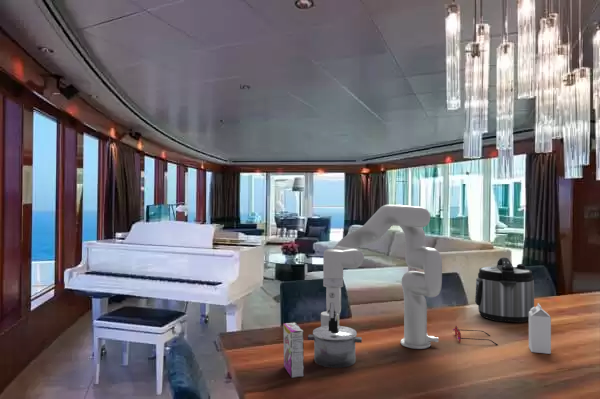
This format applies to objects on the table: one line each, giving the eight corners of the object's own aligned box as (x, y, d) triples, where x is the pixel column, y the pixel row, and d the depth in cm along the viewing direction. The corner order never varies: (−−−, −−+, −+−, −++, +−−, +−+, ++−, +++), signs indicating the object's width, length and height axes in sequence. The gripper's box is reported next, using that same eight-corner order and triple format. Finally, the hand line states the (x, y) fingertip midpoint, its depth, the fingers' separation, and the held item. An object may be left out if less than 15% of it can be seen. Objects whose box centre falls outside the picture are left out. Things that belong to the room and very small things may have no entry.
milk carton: (547, 348, 185) (547, 303, 185) (551, 354, 178) (550, 307, 178) (528, 347, 187) (528, 302, 187) (531, 352, 180) (531, 306, 180)
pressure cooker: (494, 308, 255) (494, 253, 255) (545, 318, 233) (545, 258, 233) (464, 316, 237) (464, 257, 237) (516, 328, 215) (516, 263, 215)
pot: (362, 353, 179) (362, 328, 179) (361, 369, 162) (361, 342, 162) (311, 350, 183) (311, 326, 183) (305, 366, 166) (305, 339, 166)
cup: (338, 343, 192) (338, 316, 192) (319, 342, 193) (319, 315, 193) (340, 338, 200) (340, 311, 200) (322, 337, 201) (322, 310, 201)
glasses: (452, 334, 206) (452, 324, 206) (490, 336, 203) (490, 325, 203) (458, 344, 192) (458, 332, 192) (498, 346, 189) (498, 334, 189)
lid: (357, 328, 179) (357, 323, 179) (355, 341, 162) (355, 336, 162) (315, 326, 182) (315, 321, 182) (310, 339, 165) (310, 334, 165)
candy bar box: (282, 366, 165) (282, 323, 165) (295, 365, 166) (295, 322, 167) (290, 378, 154) (290, 331, 154) (304, 376, 156) (304, 330, 156)
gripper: (341, 286, 158) (341, 337, 158) (344, 279, 173) (344, 325, 173) (321, 285, 159) (320, 336, 159) (325, 278, 174) (325, 325, 174)
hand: (333, 330), depth 166 cm, fingers closed
